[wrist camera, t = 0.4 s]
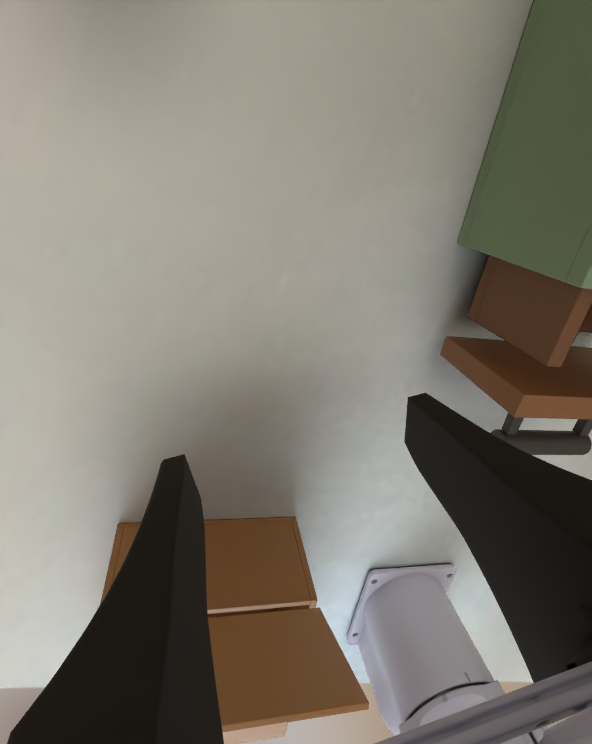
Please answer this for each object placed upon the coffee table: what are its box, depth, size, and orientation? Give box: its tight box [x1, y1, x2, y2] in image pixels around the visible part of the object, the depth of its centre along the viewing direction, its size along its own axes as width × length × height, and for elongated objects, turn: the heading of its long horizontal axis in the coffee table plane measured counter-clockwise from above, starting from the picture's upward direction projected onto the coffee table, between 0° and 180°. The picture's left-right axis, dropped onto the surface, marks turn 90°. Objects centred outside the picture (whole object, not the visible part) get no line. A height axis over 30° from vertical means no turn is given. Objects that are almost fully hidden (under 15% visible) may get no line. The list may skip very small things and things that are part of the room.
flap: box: [208, 608, 369, 733], centre depth 19 cm, size 7×12×1 cm
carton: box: [100, 517, 317, 744], centre depth 28 cm, size 14×12×7 cm
